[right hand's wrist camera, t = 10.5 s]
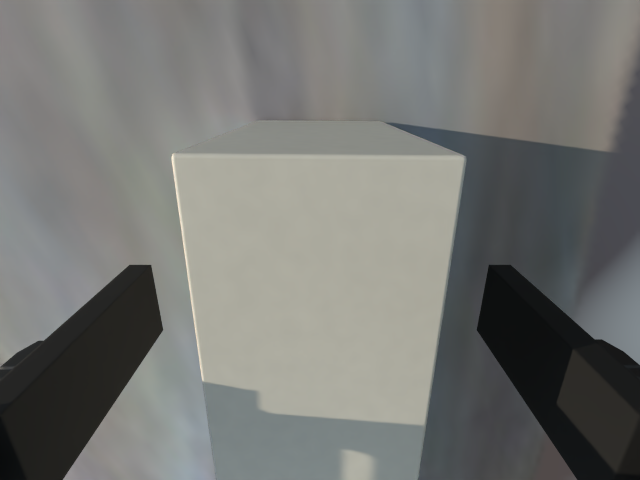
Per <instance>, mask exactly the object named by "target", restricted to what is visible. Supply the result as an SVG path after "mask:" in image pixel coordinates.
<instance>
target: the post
mask: <svg viewBox="0 0 640 480" xmlns="http://www.w3.org/2000/svg"><path fill="white" fill-rule="evenodd" d="M466 161H467V160H466V156H464V155H462V154H459V153H457V152H454V151H452V150H449V149H447V148H445V147H442V146H440V145H437V144H435V143H432V142H430V141H428V140H425V139H423V138H420V137H418V136H415V135H413V134H410V133H408V132H406V131H403V130H401V129H398V128H396V127H393V126H391V125H389V124H386V123H384V122H381V121H294V120H258V121H255V122H253V123H250V124H248V125H245V126H242V127H240V128H237V129H235V130H232V131H230V132H227V133H225V134H222V135H219V136H217V137H214V138H212V139H209V140H207V141H204V142H202V143H199V144H197V145H194V146H191V147H189V148H186V149H184V150H181V151H179V152H176V153H174V154H172V165H173V173H174V180H175V187H176V194H177V201H178V209H179V216H180V223H181V230H182V238H183V245H184V252H185V259H186V267H187V274H188V281H189V288H190V295H191V303H192V310H193V317H194V324H195V332H196V339H197V346H198V353H199V361H200V368H201V375H202V382H203V390H204V397H205V404H206V411H207V418H208V426H209V433H210V440H211V447H212V455H213V462H214V469H215V476H216V480H418V477H419V471H420V464H421V457H422V451H423V444H424V438H425V431H426V425H427V418H428V411H429V405H430V398H431V392H432V385H433V378H434V372H435V365H436V359H437V352H438V346H439V339H440V332H441V326H442V319H443V313H444V306H445V299H446V293H447V286H448V280H449V273H450V266H451V260H452V253H453V247H454V240H455V234H456V227H457V220H458V214H459V207H460V201H461V194H462V187H463V181H464V174H465V168H466Z"/></svg>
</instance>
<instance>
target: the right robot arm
mask: <svg viewBox="0 0 640 480" xmlns="http://www.w3.org/2000/svg"><path fill="white" fill-rule="evenodd" d="M162 331H163V327H162V321H161V316H160V311H159V305H158V300H157V295H156V289H155V284H154V278H153V273H152V268H151V265H129V266H128V267H127V268H126V269H124V270H123V271H122V272H121V273H120V274H119V275H118V276H117V277H115V278H114V279H113V280H112V281H111V282H110V283H109V284H108V285H106V286H105V287H104V288H103V289H102V290H101V291H100V292H99V293H97V294H96V295H95V296H94V297H93V298H92V299H91V300H89V301H88V302H87V303H86V304H85V305H84V306H83V307H82V308H80V309H79V310H78V311H77V312H76V313H75V314H74V315H73V316H71V317H70V318H69V319H68V320H67V321H66V322H65V323H64V324H62V325H61V326H60V327H59V328H58V329H57V330H56V331H55V332H53V333H52V334H51V335H50V336H49V337H48V338H47V339H45V340H44V341H37V342H36V343H34V344H32V345H30V346H28V347H27V348H25V349H23V350H21V351H19V352H18V353H16V354H15V355H14V356H13V357H12V358H10V359H9V360H8V361H7V362H6V363H4V364H3V365H2V366H1V367H0V480H63V478H64V477H65V475H66V474H67V472H68V471H69V469H70V468H71V466H72V465H73V463H74V462H75V460H76V459H77V458H78V456H79V455H80V453H81V452H82V450H83V449H84V447H85V446H86V444H87V443H88V441H89V440H90V438H91V437H92V435H93V434H94V432H95V431H96V429H97V428H98V426H99V425H100V423H101V422H102V420H103V419H104V417H105V416H106V414H107V413H108V411H109V410H110V408H111V407H112V405H113V404H114V402H115V401H116V399H117V398H118V396H119V395H120V393H121V392H122V390H123V389H124V387H125V386H126V385H127V383H128V382H129V380H130V379H131V377H132V376H133V374H134V373H135V371H136V370H137V368H138V367H139V365H140V364H141V362H142V361H143V359H144V358H145V356H146V355H147V353H148V352H149V350H150V349H151V347H152V346H153V344H154V343H155V341H156V340H157V338H158V337H159V335H160V334H161V332H162ZM477 331H478V332H479V334H480V335H481V337H482V338H483V340H484V341H485V343H486V344H487V346H488V347H489V349H490V350H491V352H492V353H493V355H494V356H495V358H496V359H497V361H498V362H499V364H500V365H501V367H502V368H503V370H504V371H505V373H506V374H507V376H508V377H509V379H510V380H511V382H512V383H513V385H514V386H515V388H516V389H517V390H518V392H519V393H520V395H521V396H522V398H523V399H524V401H525V402H526V404H527V405H528V407H529V408H530V410H531V411H532V413H533V414H534V416H535V417H536V419H537V420H538V422H539V423H540V425H541V426H542V428H543V429H544V431H545V432H546V434H547V435H548V437H549V438H550V440H551V441H552V443H553V444H554V446H555V447H556V449H557V450H558V452H559V453H560V455H561V456H562V457H563V459H564V460H565V462H566V463H567V465H568V466H569V468H570V469H571V471H572V472H573V474H574V475H575V477H576V478H577V480H640V365H639V364H638V363H636V362H635V361H634V360H633V359H632V358H630V357H629V356H628V355H627V354H626V353H624V352H623V351H621V350H620V349H618V348H616V347H614V346H612V345H611V344H609V343H607V342H605V341H603V340H595V339H593V338H592V337H591V336H590V335H589V334H588V333H587V332H585V331H584V330H583V329H582V328H581V327H580V326H579V325H578V324H576V323H575V322H574V321H573V320H572V319H571V318H570V317H569V316H567V315H566V314H565V313H564V312H563V311H562V310H561V309H560V308H558V307H557V306H556V305H555V304H554V303H553V302H552V301H550V300H549V299H548V298H547V297H546V296H545V295H544V294H543V293H541V292H540V291H539V290H538V289H537V288H536V287H535V286H534V285H532V284H531V283H530V282H529V281H528V280H527V279H526V278H525V277H523V276H522V275H521V274H520V273H519V272H518V271H517V270H516V269H514V268H513V267H512V266H511V265H489V267H488V273H487V278H486V284H485V289H484V294H483V300H482V305H481V311H480V316H479V321H478V327H477Z"/></svg>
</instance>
